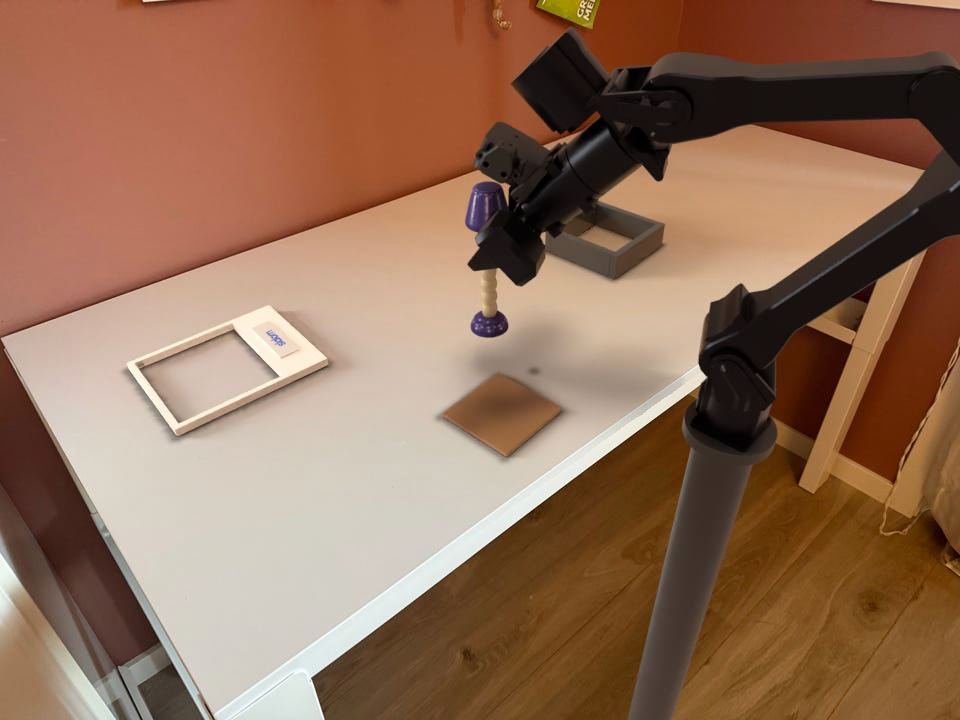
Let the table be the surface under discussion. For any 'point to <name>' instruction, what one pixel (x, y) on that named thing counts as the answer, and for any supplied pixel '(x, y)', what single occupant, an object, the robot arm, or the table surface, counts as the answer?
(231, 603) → the table surface
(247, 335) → the photo frame
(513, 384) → the cork pad
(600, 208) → the grey square tray
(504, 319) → the toy lamp
